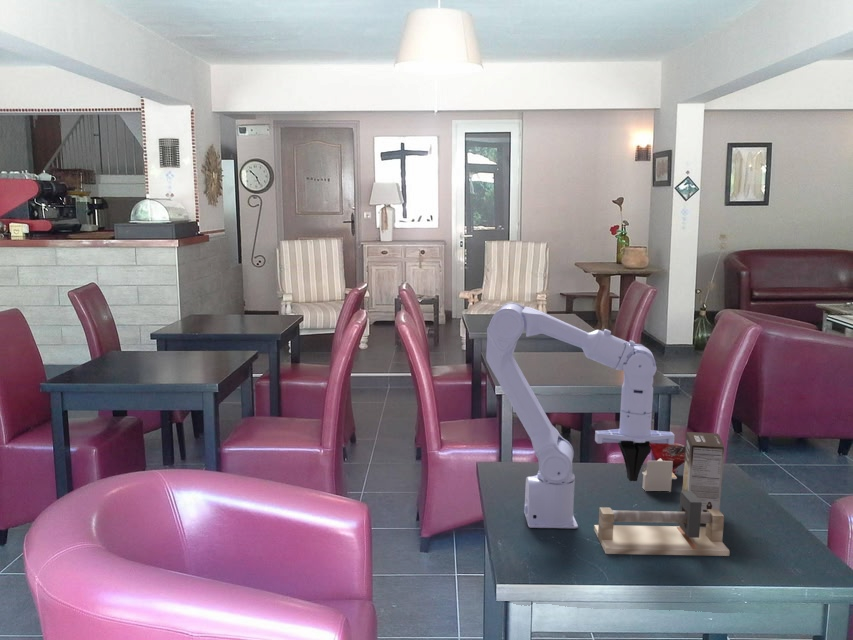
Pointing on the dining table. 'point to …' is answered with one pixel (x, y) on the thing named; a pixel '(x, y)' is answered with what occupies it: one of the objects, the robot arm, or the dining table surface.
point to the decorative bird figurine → (669, 453)
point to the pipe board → (659, 533)
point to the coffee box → (704, 468)
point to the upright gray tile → (690, 513)
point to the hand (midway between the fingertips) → (632, 479)
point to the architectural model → (658, 476)
